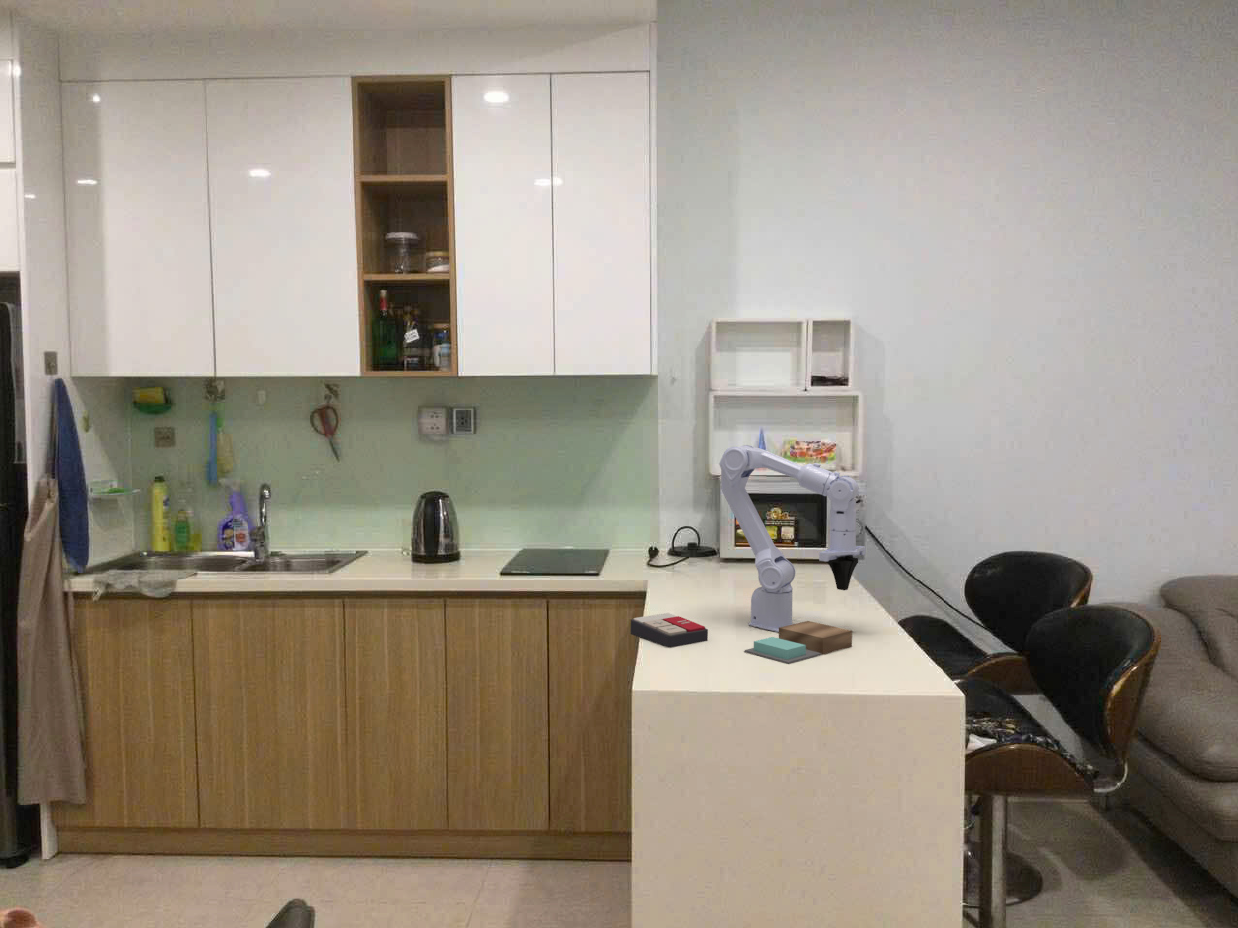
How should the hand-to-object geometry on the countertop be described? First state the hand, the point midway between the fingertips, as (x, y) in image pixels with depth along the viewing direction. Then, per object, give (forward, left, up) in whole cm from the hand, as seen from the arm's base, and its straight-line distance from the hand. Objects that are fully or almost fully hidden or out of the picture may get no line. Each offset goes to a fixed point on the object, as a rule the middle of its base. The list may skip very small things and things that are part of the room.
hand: (842, 589), depth 208 cm
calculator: (-24, -32, -11) cm, 41 cm away
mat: (+2, -23, -10) cm, 25 cm away
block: (+2, -24, -9) cm, 26 cm away
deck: (+2, -12, -10) cm, 16 cm away
